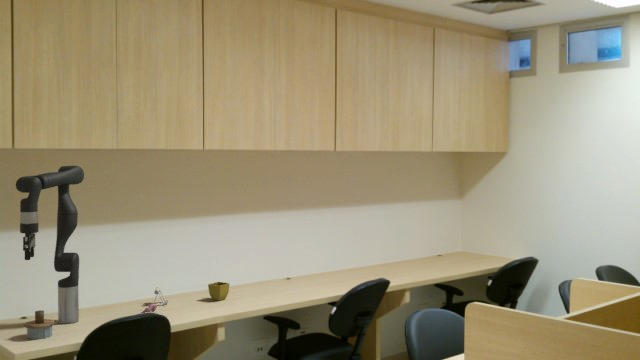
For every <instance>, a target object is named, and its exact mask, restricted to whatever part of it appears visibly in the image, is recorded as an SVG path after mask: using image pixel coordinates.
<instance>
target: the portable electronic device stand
mask: <svg viewBox="0 0 640 360" xmlns="http://www.w3.org/2000/svg"><path fill="white" fill-rule="evenodd" d="M153 294H155V295H156V296H155V299H154V301H153V303H152V304H154V305H155V303H156V302H155V301H156V299H157V297H158V295H159V298H160V300H161V303H162V304H163V305H164V306H165V305H166V306H167V305H168V303H169V298H168V297H167V299H165V297H164V295H163V292H162V291H161V288H160V287H156V288H155V289H154V291H153Z"/></svg>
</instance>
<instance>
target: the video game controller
mask: <svg viewBox="0 0 640 360" xmlns="http://www.w3.org/2000/svg"><path fill="white" fill-rule="evenodd" d="M157 307H158V306H157V305H156V304H155V303H154V304H153V303H150V304H148V305H147V307H145V309H144V310H142V311H141V312H140V313H145V312H153V313H154V312H155V311H156V310H157V309H158V308H157Z"/></svg>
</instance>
